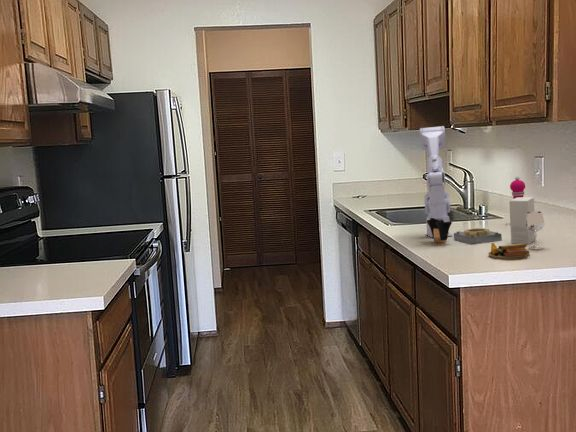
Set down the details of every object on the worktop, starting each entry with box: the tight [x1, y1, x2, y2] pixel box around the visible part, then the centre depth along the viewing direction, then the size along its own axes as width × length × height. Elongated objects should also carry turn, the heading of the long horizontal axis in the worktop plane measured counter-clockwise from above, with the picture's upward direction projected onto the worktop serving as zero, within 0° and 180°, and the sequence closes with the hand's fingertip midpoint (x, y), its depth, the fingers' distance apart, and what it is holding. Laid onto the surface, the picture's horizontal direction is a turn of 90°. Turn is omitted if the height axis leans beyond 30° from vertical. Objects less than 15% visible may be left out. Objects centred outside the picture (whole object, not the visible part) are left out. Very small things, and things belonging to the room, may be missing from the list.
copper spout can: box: [433, 227, 447, 245], centre depth 226 cm, size 4×4×7 cm
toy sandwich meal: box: [487, 242, 531, 260], centre depth 191 cm, size 12×14×5 cm
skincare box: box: [509, 196, 535, 245], centre depth 211 cm, size 8×7×16 cm
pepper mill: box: [509, 176, 526, 199], centre depth 252 cm, size 7×7×20 cm
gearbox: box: [453, 227, 503, 245], centre depth 226 cm, size 17×12×4 cm
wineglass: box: [525, 210, 545, 250], centre depth 199 cm, size 6×6×12 cm
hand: (440, 239), depth 226 cm, fingers open, 6 cm apart
